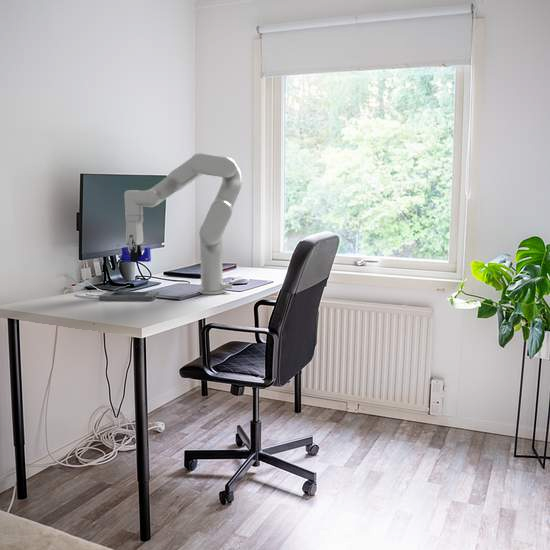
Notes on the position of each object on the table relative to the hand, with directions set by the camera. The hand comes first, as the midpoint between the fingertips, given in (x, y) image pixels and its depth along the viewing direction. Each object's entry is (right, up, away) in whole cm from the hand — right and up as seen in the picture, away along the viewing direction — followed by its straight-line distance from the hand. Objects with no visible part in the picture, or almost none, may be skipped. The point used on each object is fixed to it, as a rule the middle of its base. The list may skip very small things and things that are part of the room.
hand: (136, 260), depth 281 cm
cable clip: (0, -1, 0) cm, 1 cm away
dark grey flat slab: (-2, -17, -7) cm, 18 cm away
